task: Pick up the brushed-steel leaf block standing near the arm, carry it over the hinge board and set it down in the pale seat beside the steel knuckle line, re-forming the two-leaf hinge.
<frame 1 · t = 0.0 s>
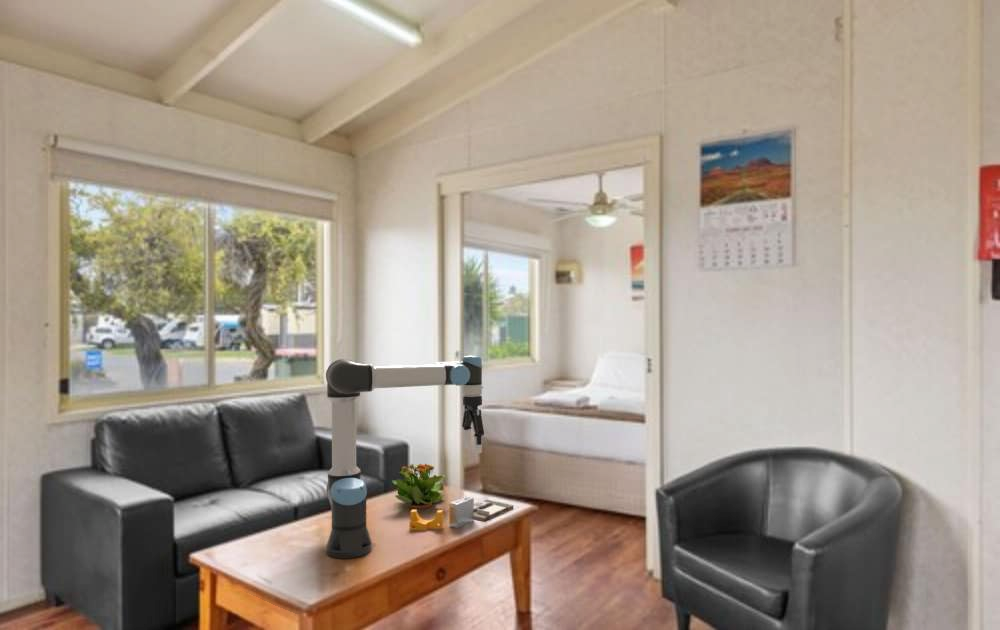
hand: (472, 449, 240), 28 cm above the table, fingers open, 13 cm apart
hinge board: (481, 513, 249), on the table
potted flower: (419, 506, 259), on the table
leaf block: (461, 523, 236), on the table
leaf seat: (492, 512, 249), resting on hinge board
pipe clamp: (426, 529, 232), on the table
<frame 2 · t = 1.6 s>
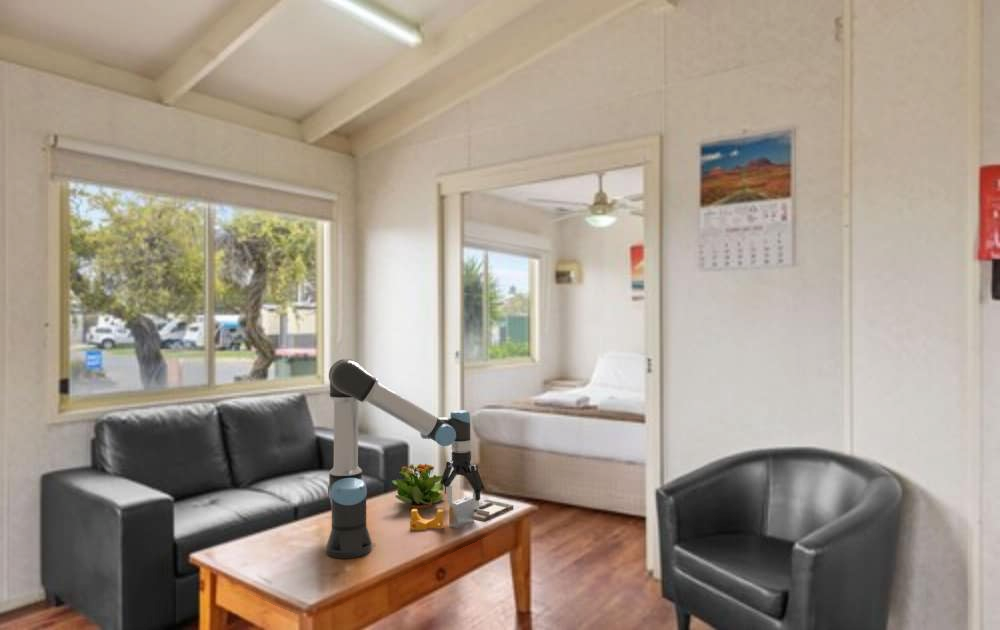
hand: (462, 505, 237), 7 cm above the table, fingers open, 13 cm apart
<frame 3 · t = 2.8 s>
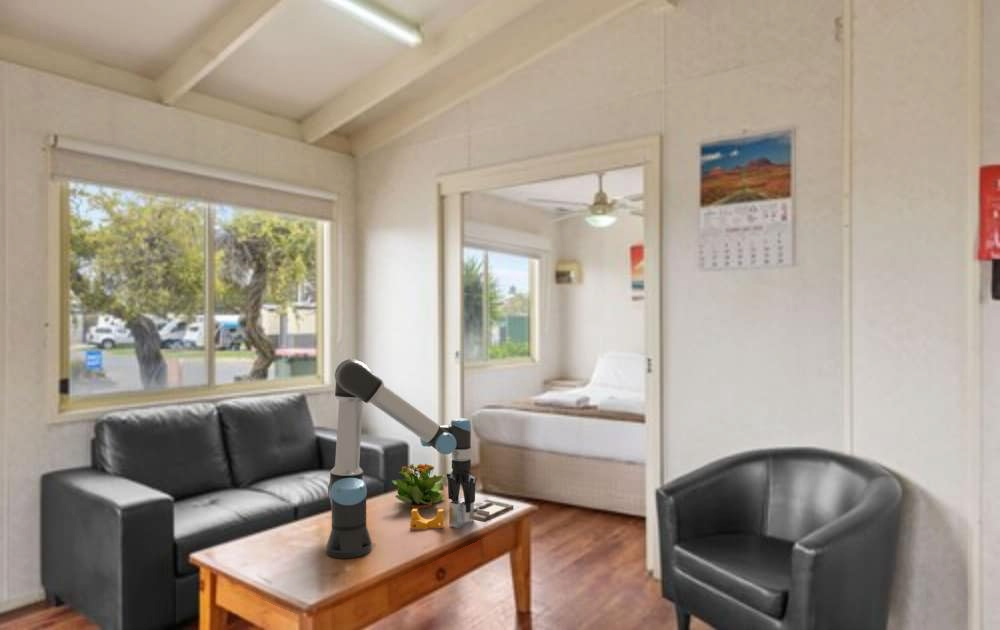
hand: (461, 519, 236), 2 cm above the table, fingers closed on leaf block, 4 cm apart
leaf block: (461, 523, 236), on the table, touching gripper
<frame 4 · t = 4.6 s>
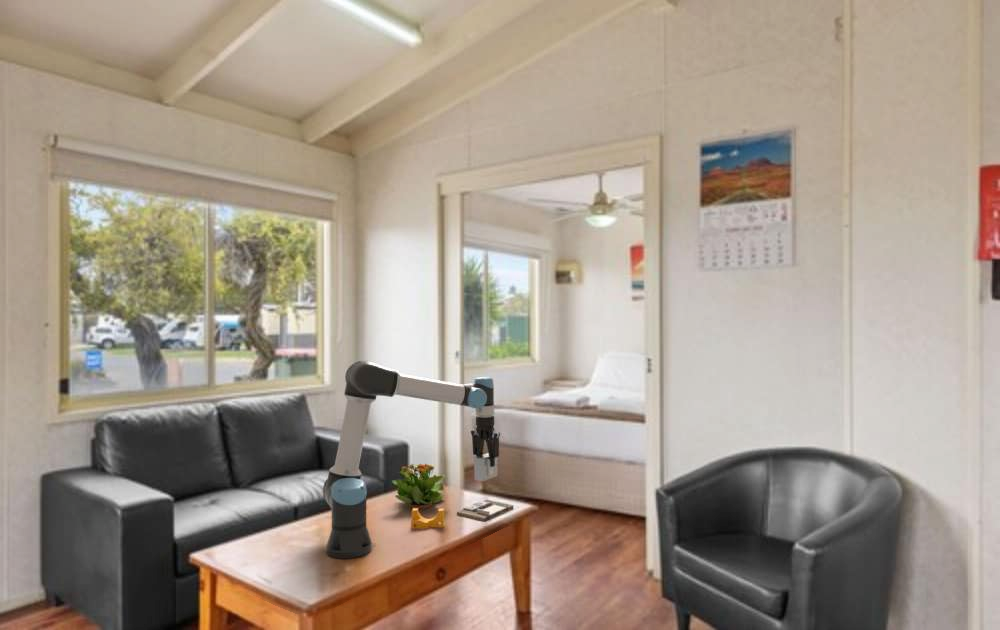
hand: (486, 473, 246), 17 cm above the table, fingers closed on leaf block, 4 cm apart
leaf block: (486, 477, 246), point 15 cm above the table, touching gripper
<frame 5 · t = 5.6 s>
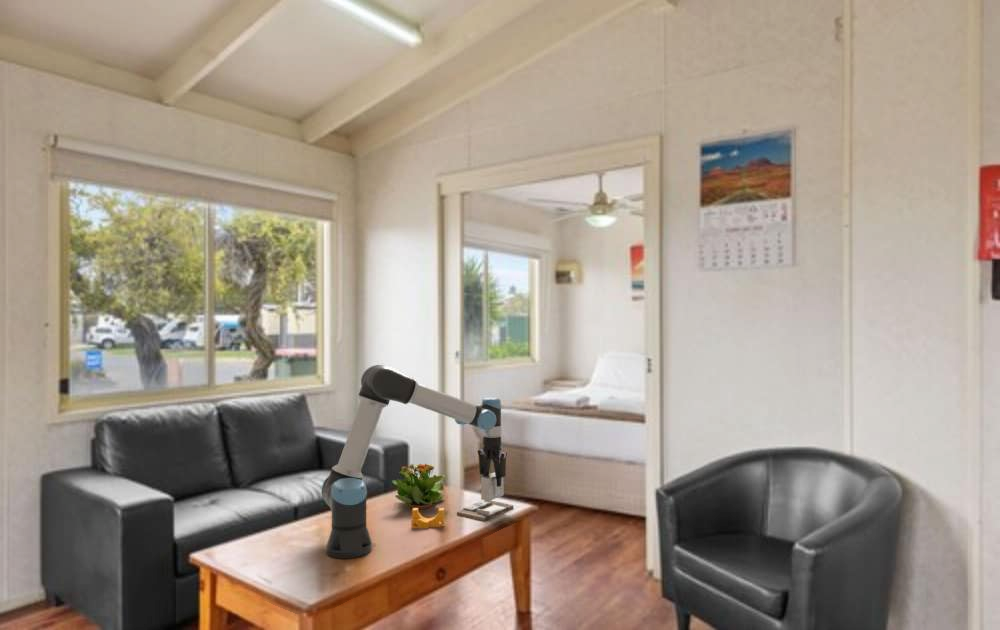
hand: (492, 493, 249), 8 cm above the table, fingers closed on leaf block, 4 cm apart
leaf block: (492, 497, 249), point 6 cm above the table, touching gripper
when the fingers open (5 cm above the table, at t = 6.4 s): leaf block drops 1 cm, resting on leaf seat.
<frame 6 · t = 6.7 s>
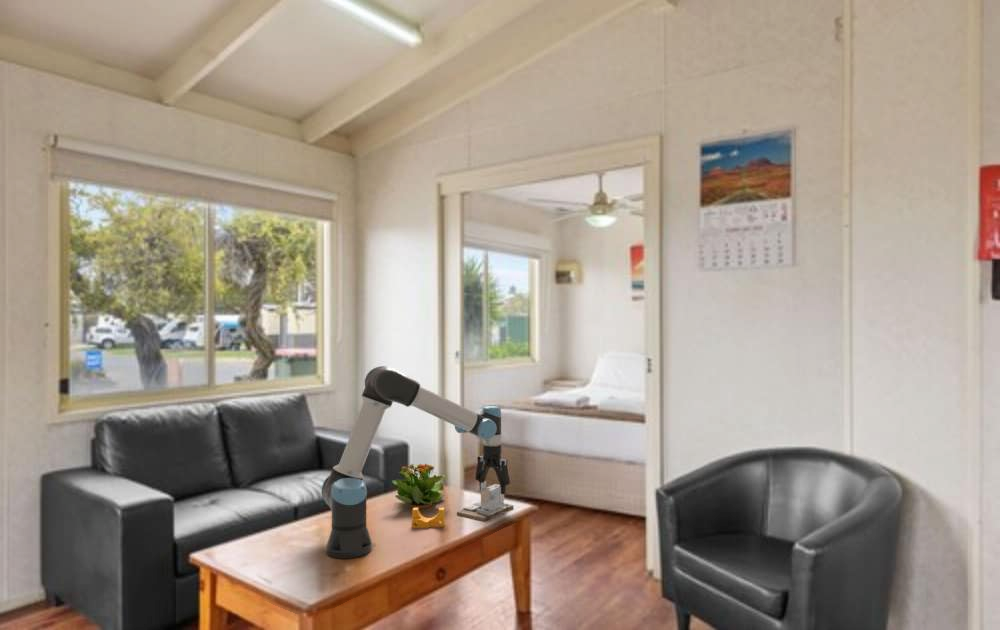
hand: (492, 499, 249), 5 cm above the table, fingers open, 8 cm apart
leaf block: (492, 509, 249), point 1 cm above the table, touching leaf seat
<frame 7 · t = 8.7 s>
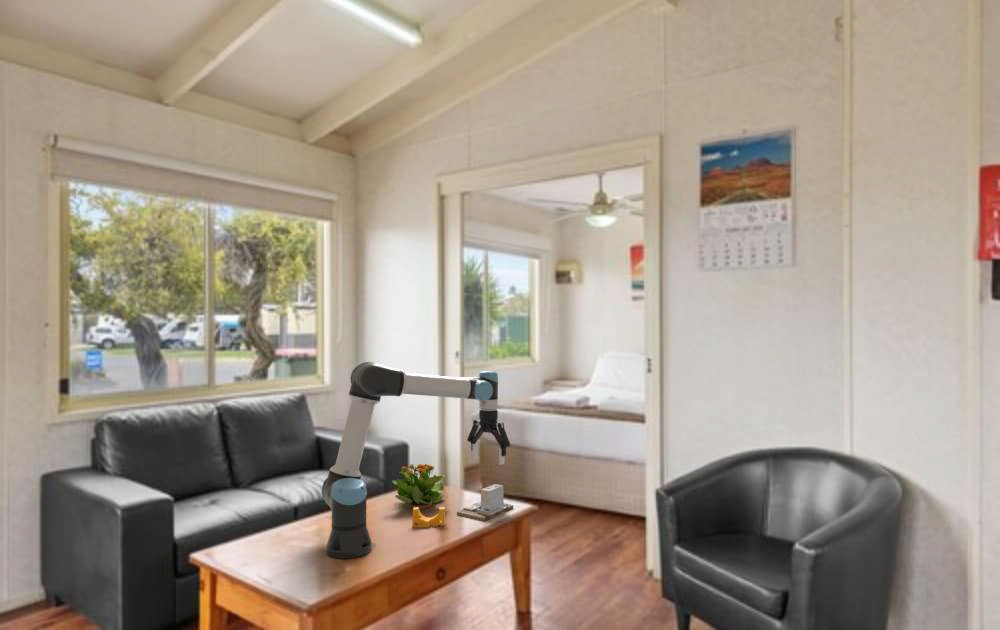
hand: (488, 461, 248), 21 cm above the table, fingers open, 13 cm apart
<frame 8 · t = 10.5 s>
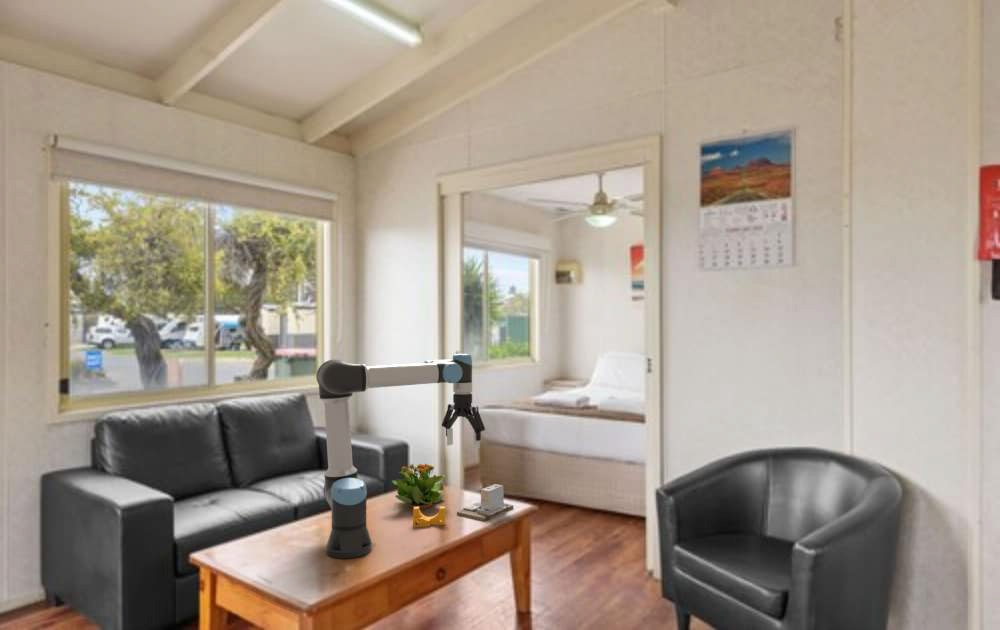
hand: (463, 446, 241), 29 cm above the table, fingers open, 13 cm apart
at the end: leaf block 0.1 cm from the leaf seat (horizontally); leaf block tilted 0°; the gripper is holding nothing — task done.
